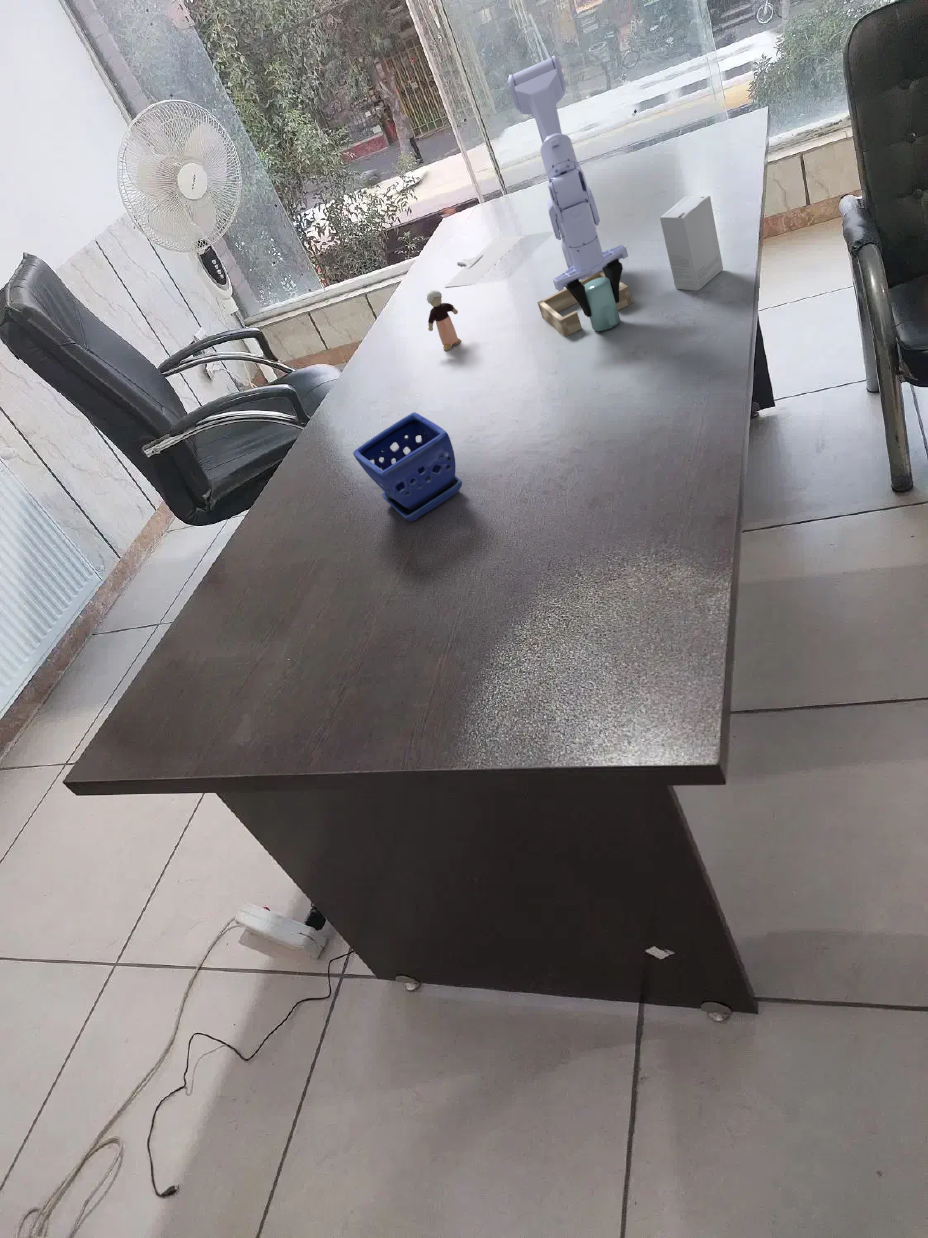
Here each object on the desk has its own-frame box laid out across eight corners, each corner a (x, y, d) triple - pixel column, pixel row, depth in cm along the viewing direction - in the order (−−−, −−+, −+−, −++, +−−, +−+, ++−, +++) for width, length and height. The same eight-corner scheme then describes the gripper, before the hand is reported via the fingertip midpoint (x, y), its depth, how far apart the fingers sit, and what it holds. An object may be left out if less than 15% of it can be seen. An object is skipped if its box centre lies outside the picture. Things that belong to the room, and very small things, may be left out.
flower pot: (409, 533, 142) (379, 475, 134) (379, 505, 152) (349, 449, 145) (475, 490, 144) (449, 430, 136) (441, 465, 154) (414, 408, 147)
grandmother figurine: (447, 354, 188) (424, 299, 180) (436, 352, 191) (413, 299, 183) (471, 335, 191) (449, 280, 183) (460, 333, 193) (438, 280, 186)
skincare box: (700, 268, 172) (685, 193, 163) (725, 269, 168) (711, 193, 159) (674, 290, 170) (657, 215, 161) (698, 292, 165) (683, 215, 156)
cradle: (542, 317, 183) (537, 302, 181) (605, 285, 183) (601, 269, 181) (565, 336, 173) (560, 320, 171) (632, 302, 173) (628, 286, 170)
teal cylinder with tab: (602, 337, 166) (591, 298, 161) (588, 324, 172) (577, 287, 167) (628, 324, 165) (618, 285, 160) (614, 312, 171) (603, 274, 166)
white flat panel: (483, 242, 233) (482, 238, 233) (556, 233, 219) (555, 229, 218) (432, 290, 221) (431, 285, 220) (507, 284, 207) (505, 279, 206)
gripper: (554, 262, 156) (575, 331, 164) (627, 226, 156) (644, 296, 164) (541, 254, 161) (562, 320, 170) (611, 218, 161) (628, 287, 170)
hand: (601, 308), depth 167 cm, fingers closed on teal cylinder with tab, 5 cm apart
